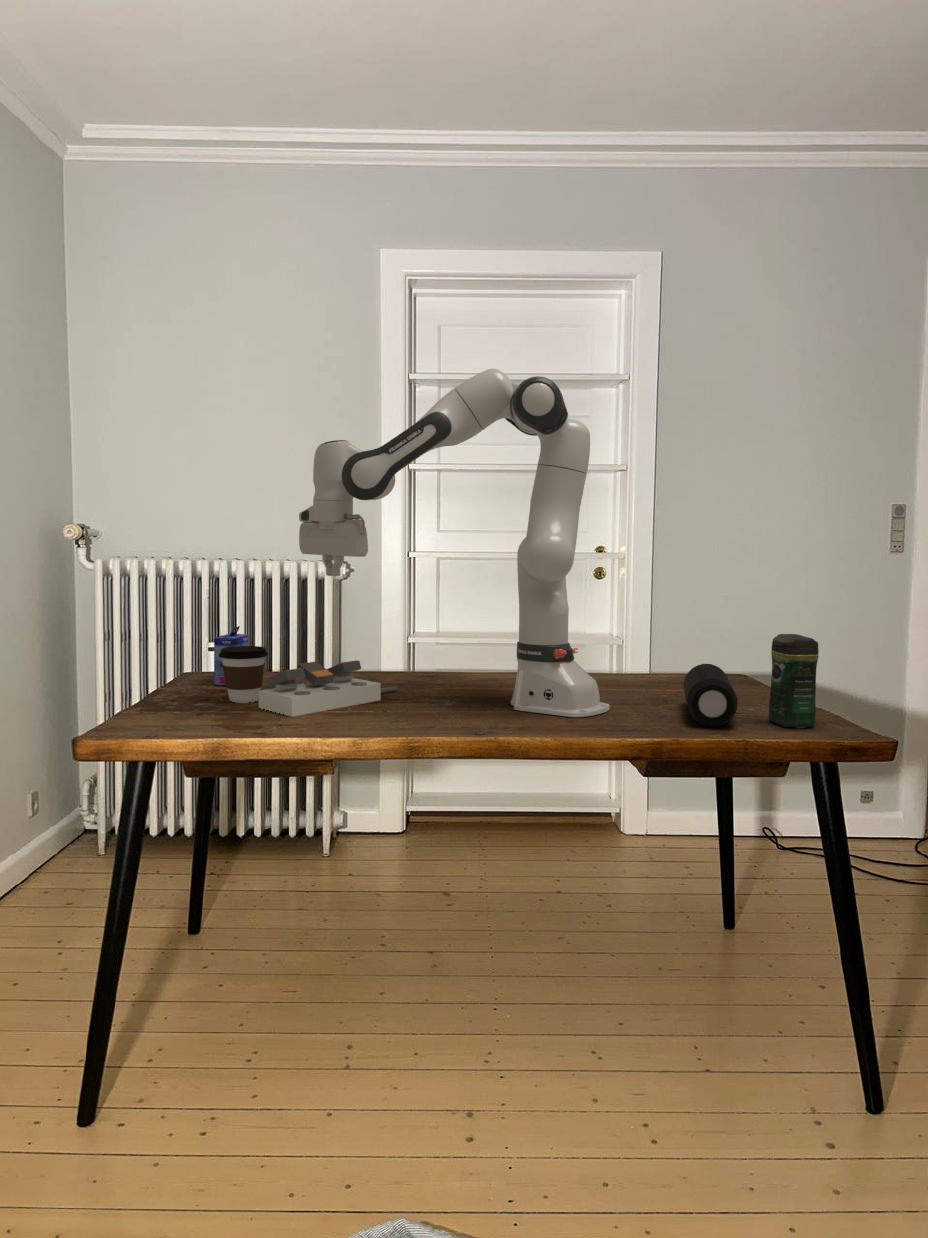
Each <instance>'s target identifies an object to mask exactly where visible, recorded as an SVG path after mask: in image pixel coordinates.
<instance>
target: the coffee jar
mask: <svg viewBox="0 0 928 1238" xmlns="http://www.w3.org/2000/svg"><path fill="white" fill-rule="evenodd" d="M770 652H771V654H770V655H771V680H770V693H769V704H768V716H767V717H768V720H770V722H772V723H775V725H780V726H782V727H794V728H795V727H796V728H795V729H805V727H806V728H808V727H813V726H815V725H816V709H817V708H816V706H817V705H816V693H817V692H816V691H817V690H816V688H817V687H816V686H817V683H816V682H817V667H818V666H817V665H818V661H819V642H818V641H816V640H815V639H814V638H812V637H809V636H805V635H801V634H796V633H780V634H777V635H776V636H775V637H774V638H772V643H771V651H770Z"/></svg>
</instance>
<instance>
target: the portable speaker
mask: <svg viewBox="0 0 928 1238" xmlns="http://www.w3.org/2000/svg"><path fill="white" fill-rule="evenodd" d="M683 692H684V697H685V702H686V707H687V710H688V711H687V712H688V713H689V714H690V716H691V717H692V718H693V720H694V721H695V722H697V723H698V724H700V725H702V726H705V727H706V726H708V728H709V727H710V728H717V727H721V726H724V725H726V724H728V723H729V722H730V721H732V719H733V718H734V717H735V714H736V713H737V711H738V710H737V709H738V705H739V703H738V702H739V701H738V697H737V696H738V695H737V694H736V692H735V690H734V689H733V686H732V684H731V681H730V680H729V677H728V676H727V674H726V673H725V671H724V670H723V669H722V668H721V667H719V666H717V665H715V664H712V663H701V664H698V665H695V666H694V667H692V668H691V669H690V670H689V671H688V672H687V673H686V675H685V677H684V680H683Z"/></svg>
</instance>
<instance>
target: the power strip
mask: <svg viewBox="0 0 928 1238" xmlns="http://www.w3.org/2000/svg"><path fill="white" fill-rule="evenodd" d="M381 684H382V683H381V682H377V681H370V680H366V679H359V678H354V675H353V673H349V674H343V675H336V676H334V679H333V683H329V684H323V685H317V686H314V685H313V684H312V683H311V682H309V681H308V680H307V679H305V681H304V683H299V684H298V682H297V681H295V682H290V683H283V684H277V685H276V686H274V688H272V687H271V688H266V689H260V691H259V698H258V709H259V708H261V709H260V710H262V709H265V710H264V711H266V710H269V711H268V712H270V711H272V713H275V712H276V713H275V714H279V713H280V715H283V714H284V716H287V717H292V718H293V717H298V716H303V715H309V714H315V713H319V712H320V713H321V712H324V711H330V710H336V709H342V708H347V707H351V706H357V705H358V706H359V705H363V704H367V703H373V702H378V701H381V700H382V697H381V695H382V694H387V693H393V692H396V691H397V690H398V687H397V686H390V687H389V686H388V687H382V688H381ZM392 691H393V692H392Z"/></svg>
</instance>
